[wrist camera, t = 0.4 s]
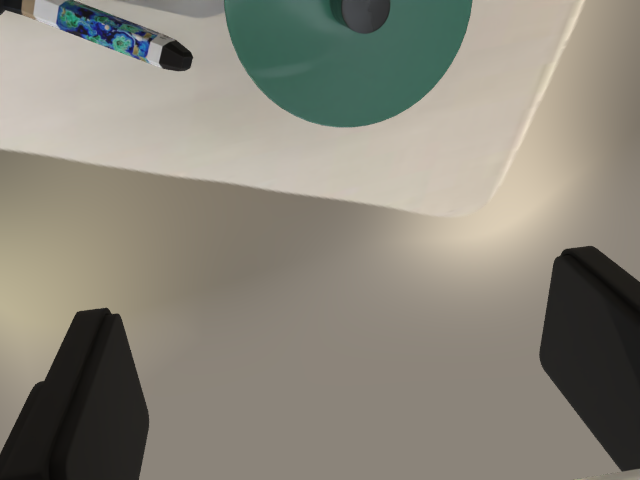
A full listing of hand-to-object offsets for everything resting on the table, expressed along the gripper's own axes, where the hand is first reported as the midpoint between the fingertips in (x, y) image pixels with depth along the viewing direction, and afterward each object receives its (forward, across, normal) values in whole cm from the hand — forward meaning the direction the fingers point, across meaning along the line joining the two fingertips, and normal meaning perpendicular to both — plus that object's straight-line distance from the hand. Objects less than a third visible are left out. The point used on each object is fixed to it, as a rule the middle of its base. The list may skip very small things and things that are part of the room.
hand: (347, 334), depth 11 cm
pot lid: (+22, -4, -5) cm, 23 cm away
